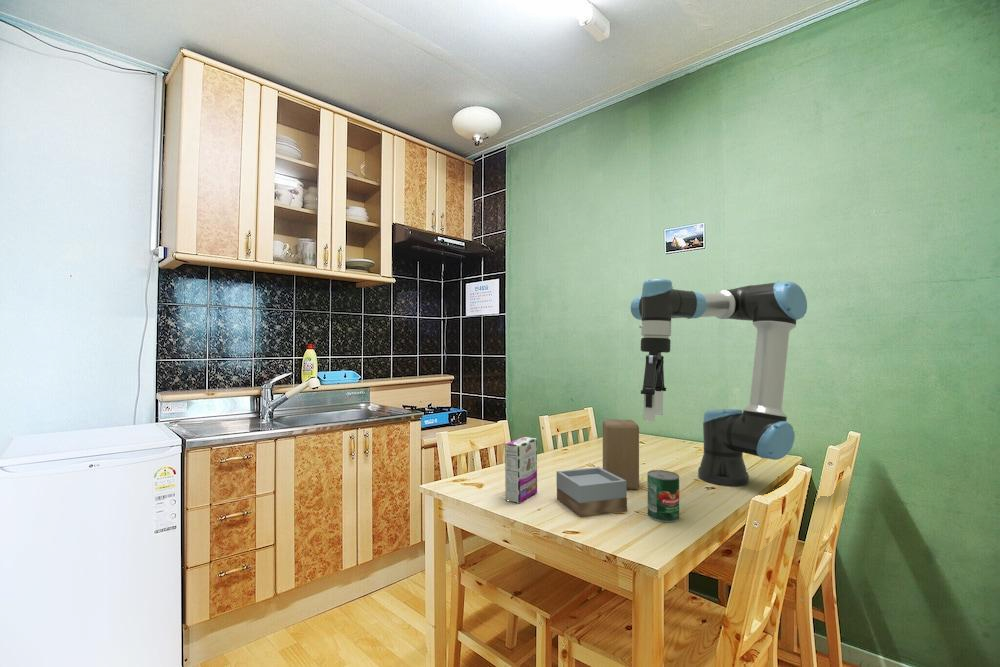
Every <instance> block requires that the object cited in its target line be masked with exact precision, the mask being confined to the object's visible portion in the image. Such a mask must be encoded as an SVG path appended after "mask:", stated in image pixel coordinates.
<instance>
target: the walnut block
mask: <svg viewBox="0 0 1000 667" xmlns="http://www.w3.org/2000/svg"><path fill="white" fill-rule="evenodd" d="M556 500H557V501H558V500H559V501H560V503H561V504H562V505H563V504H564V505H563V506H565V507H566V508H567V509H568V510H570V511H571V512H573V514H575V515H576V516H578V517H579V518H580V519H581V518H588V517H593V516H594V517H596V516H603V515H609V514H610V513H611V514H617V512H618V513H625V511H626V512H628V498H620V499H612V500H604V501H596V502H588V503H579V502H577V501H576V500H574V499H573V498H572V497H570V496H569V495H567V494H566V493H564V492H563V491H562V490H560V489H559V488H557V487H556ZM559 501H558V502H559ZM611 514H610V515H611Z"/></svg>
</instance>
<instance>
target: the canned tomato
mask: <svg viewBox="0 0 1000 667" xmlns="http://www.w3.org/2000/svg"><path fill="white" fill-rule="evenodd" d="M647 517H648V518H649V519H652V520H654V521H657V522H660V521H661V522H662V523H676V522H678V521H679V520H680V519H681V518H680V475H679V473H676V472H673V471H669V470H664V469H663V470H662V469H654V470H653V469H652V470H649V471H648V472H647ZM677 520H678V521H677ZM675 521H676V522H675ZM661 522H660V523H661Z"/></svg>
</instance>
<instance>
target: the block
mask: <svg viewBox="0 0 1000 667" xmlns="http://www.w3.org/2000/svg"><path fill="white" fill-rule="evenodd" d="M602 469H604V470H606V471H608V472H610V473H612V474H614V475H616V476H618V477H620V478H622V479H624V480H626V481H627V490H638V489H639V488H640V426H639V425H638V424H637V423H636V422H635V421H634V420H632V419H616V418H615V419H607V418H606V419H603V420H602Z"/></svg>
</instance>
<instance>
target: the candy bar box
mask: <svg viewBox="0 0 1000 667" xmlns="http://www.w3.org/2000/svg"><path fill="white" fill-rule="evenodd" d="M537 441H538V440H537V438H536V437H535V438H534V437H529V436H523V437H519V438H518V439H515V440H512V441H509V442H507V443H505V444H504V456H505V457H504V469H505V472H504V473H505V483H504V484H505V501H506V500H509V501H513V502H512V503H514V502H517V503H516V504H521V503H523V502H525V501H526V500H527V498H528V499H529V498H531V497H532V496H534V495H536V494H537V493H538V453H537V452H538V446H537V445H538V442H537ZM535 493H536V494H535ZM524 500H525V501H524ZM509 501H508V502H509ZM522 501H523V502H522Z"/></svg>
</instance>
